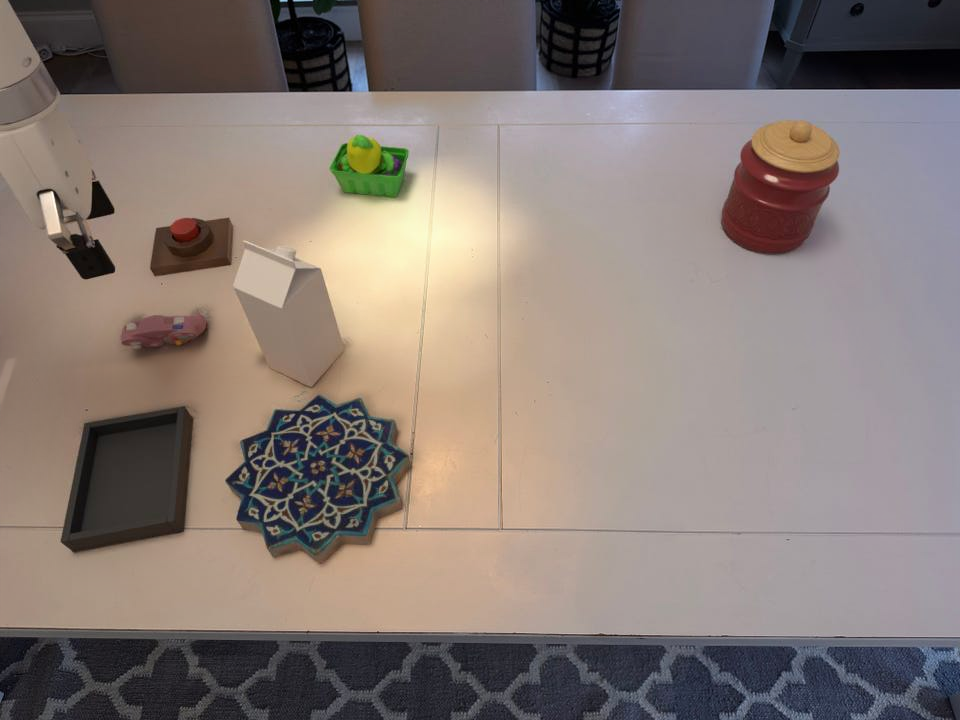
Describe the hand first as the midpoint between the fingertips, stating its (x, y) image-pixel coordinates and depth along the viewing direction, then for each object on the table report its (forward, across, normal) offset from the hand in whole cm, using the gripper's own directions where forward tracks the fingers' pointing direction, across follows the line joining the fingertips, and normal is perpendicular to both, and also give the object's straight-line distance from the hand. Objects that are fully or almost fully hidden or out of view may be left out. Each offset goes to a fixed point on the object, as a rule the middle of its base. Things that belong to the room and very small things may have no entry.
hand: (100, 243), depth 70 cm
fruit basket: (+22, -28, +33) cm, 48 cm away
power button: (+19, -23, +4) cm, 30 cm away
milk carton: (+22, +4, +16) cm, 28 cm away
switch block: (+22, -23, +4) cm, 32 cm away
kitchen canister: (+22, +3, +86) cm, 89 cm away
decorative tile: (+22, +22, +15) cm, 34 cm away
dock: (+22, +15, -6) cm, 27 cm away
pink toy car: (+22, -5, -1) cm, 23 cm away
